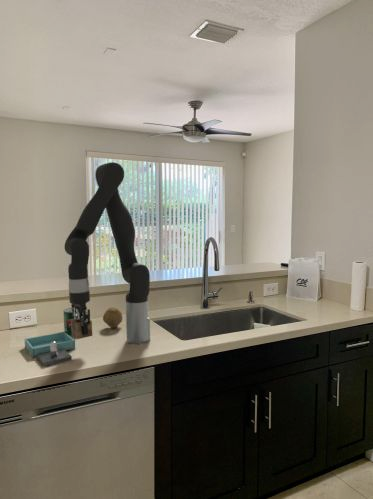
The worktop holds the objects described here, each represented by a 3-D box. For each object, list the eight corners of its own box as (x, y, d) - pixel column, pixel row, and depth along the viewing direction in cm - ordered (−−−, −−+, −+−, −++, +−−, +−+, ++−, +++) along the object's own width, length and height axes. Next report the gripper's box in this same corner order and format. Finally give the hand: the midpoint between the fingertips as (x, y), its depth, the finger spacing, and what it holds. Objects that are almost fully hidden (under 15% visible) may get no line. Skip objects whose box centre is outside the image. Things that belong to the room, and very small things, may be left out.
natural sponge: (99, 329, 172) (98, 308, 171) (108, 324, 181) (108, 304, 180) (116, 331, 169) (116, 310, 169) (125, 325, 178) (125, 305, 177)
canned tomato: (74, 329, 172) (73, 306, 171) (86, 332, 168) (85, 308, 167) (60, 334, 166) (59, 310, 165) (72, 337, 162) (71, 312, 161)
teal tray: (64, 339, 159) (64, 331, 158) (75, 348, 147) (74, 340, 147) (24, 347, 149) (24, 339, 149) (33, 357, 138) (32, 348, 138)
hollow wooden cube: (86, 331, 145) (85, 317, 145) (92, 335, 141) (91, 320, 140) (71, 335, 142) (70, 320, 141) (77, 339, 137) (76, 323, 136)
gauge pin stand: (63, 352, 144) (62, 335, 143) (71, 360, 135) (71, 342, 135) (36, 358, 138) (35, 340, 137) (43, 366, 130) (43, 348, 129)
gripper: (95, 291, 136) (98, 335, 137) (82, 285, 147) (84, 326, 149) (75, 294, 131) (78, 339, 133) (63, 288, 143) (66, 330, 145)
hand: (81, 332), depth 141 cm, fingers closed on hollow wooden cube, 6 cm apart
